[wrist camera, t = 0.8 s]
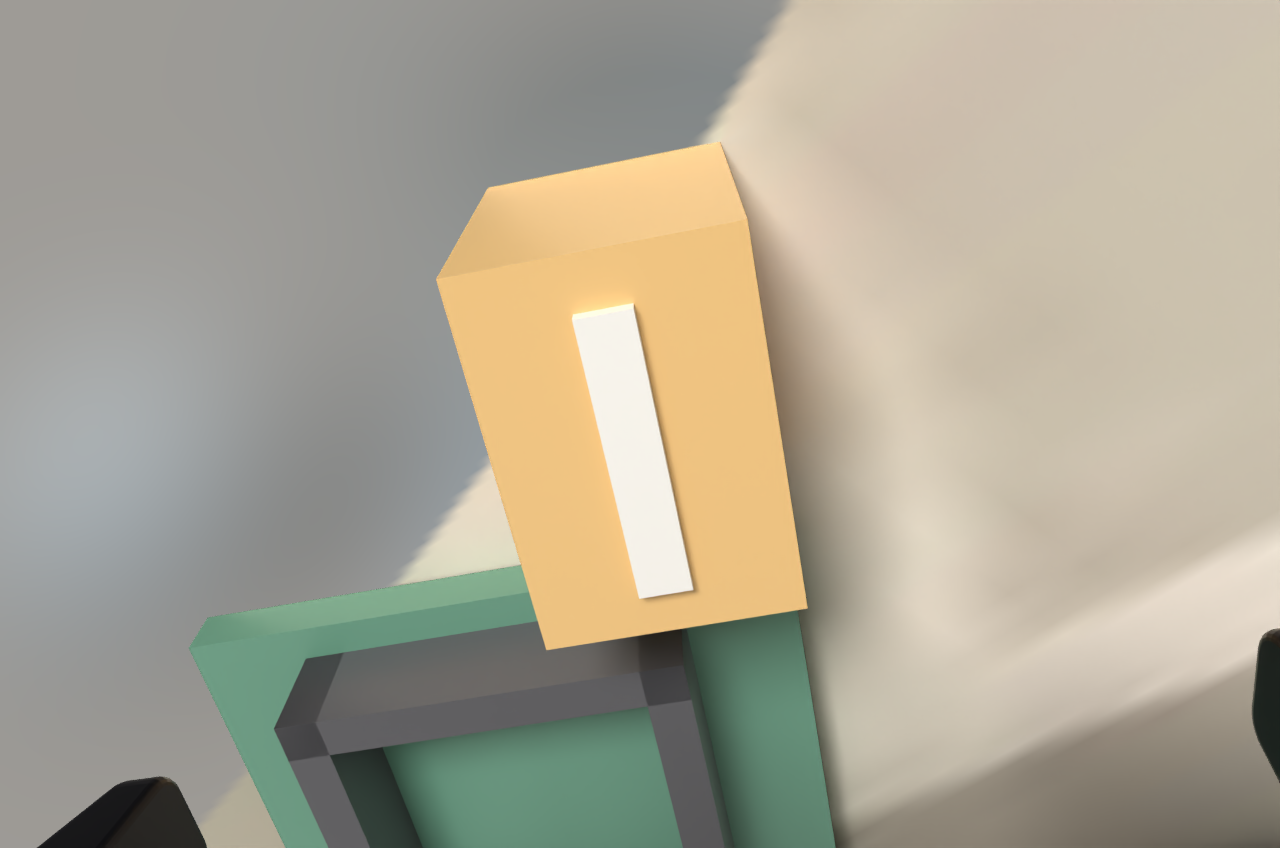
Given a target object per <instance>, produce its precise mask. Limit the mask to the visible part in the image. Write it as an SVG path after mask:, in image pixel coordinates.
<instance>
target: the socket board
mask: <svg viewBox="0 0 1280 848" xmlns="http://www.w3.org/2000/svg"><path fill="white" fill-rule="evenodd" d="M189 649H190V652H191V654H192V656H193V658H194V660H195V662H196V664H197V666H198V668H199V670H200V672H201V674H202V676H203V678H204V681H205V683H206V685H207V687H208V689H209V691H210V693H211V695H212V697H213V699H214V701H215V703H216V705H217V707H218V709H219V711H220V713H221V716H222V718H223V720H224V722H225V724H226V726H227V728H228V730H229V732H230V734H231V736H232V738H233V740H234V742H235V744H236V747H237V749H238V751H239V753H240V755H241V757H242V759H243V761H244V763H245V765H246V767H247V769H248V771H249V773H250V775H251V777H252V779H253V782H254V784H255V786H256V788H257V790H258V792H259V794H260V796H261V798H262V800H263V802H264V804H265V806H266V808H267V810H268V812H269V815H270V817H271V819H272V821H273V823H274V825H275V827H276V829H277V831H278V833H279V835H280V837H281V839H282V841H283V843H284V845H285V848H836V847H835V841H834V834H833V828H832V822H831V816H830V809H829V803H828V797H827V791H826V784H825V778H824V772H823V766H822V759H821V753H820V747H819V741H818V735H817V728H816V722H815V716H814V710H813V703H812V697H811V691H810V685H809V678H808V672H807V666H806V660H805V653H804V647H803V641H802V635H801V629H800V622H799V616H798V610H795V611H789V612H783V613H777V614H770V615H764V616H758V617H752V618H745V619H739V620H733V621H727V622H720V623H714V624H708V625H702V626H695V627H689V628H683V629H677V630H670V631H664V632H658V633H652V634H645V635H639V636H633V637H626V638H620V639H614V640H608V641H601V642H595V643H589V644H583V645H576V646H570V647H564V648H558V649H551V650H546V647H545V644H544V640H543V637H542V634H541V630H540V627H539V624H538V620H537V617H536V614H535V610H534V607H533V603H532V600H531V597H530V593H529V590H528V587H527V583H526V580H525V577H524V573H523V570H522V566H521V565H520V566H514V567H508V568H502V569H496V570H490V571H484V572H478V573H472V574H466V575H460V576H454V577H448V578H442V579H436V580H430V581H424V582H418V583H412V584H406V585H400V586H394V587H388V588H382V589H376V590H370V591H364V592H358V593H352V594H347V595H340V596H334V597H328V598H323V599H316V600H310V601H304V602H298V603H292V604H286V605H280V606H274V607H268V608H263V609H256V610H251V611H244V612H239V613H233V614H226V615H221V616H215V617H209V618H207V620H206V621H205V623H204V625H203V626H202V628H201V629H200V631H199V633H198V635H197V636H196V637H195V639H194V641H193V642H192V644H191V645H190V647H189Z"/></svg>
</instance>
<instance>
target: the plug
mask: <svg viewBox="0 0 1280 848" xmlns="http://www.w3.org/2000/svg"><path fill="white" fill-rule="evenodd" d="M436 280H437V284H438V287H439V291H440V294H441V297H442V301H443V304H444V307H445V311H446V314H447V318H448V321H449V324H450V328H451V331H452V334H453V337H454V341H455V344H456V347H457V351H458V354H459V358H460V361H461V364H462V368H463V371H464V374H465V378H466V381H467V384H468V388H469V392H470V395H471V398H472V402H473V405H474V408H475V412H476V414H477V418H478V422H479V425H480V428H481V432H482V435H483V439H484V442H485V445H486V449H487V452H488V455H489V459H490V462H491V466H492V469H493V472H494V476H495V479H496V482H497V486H498V489H499V492H500V496H501V499H502V503H503V506H504V509H505V513H506V516H507V519H508V523H509V526H510V529H511V533H512V536H513V540H514V543H515V546H516V550H517V553H518V556H519V560H520V563H521V566H522V570H523V573H524V577H525V580H526V583H527V587H528V590H529V593H530V597H531V600H532V603H533V607H534V610H535V614H536V617H537V620H538V624H539V627H540V630H541V634H542V637H543V640H544V644H545V647H546V650H551V649H558V648H564V647H570V646H576V645H583V644H589V643H595V642H601V641H608V640H614V639H620V638H626V637H633V636H639V635H645V634H652V633H658V632H664V631H670V630H677V629H683V628H689V627H695V626H702V625H708V624H714V623H720V622H727V621H733V620H739V619H745V618H752V617H758V616H764V615H770V614H777V613H783V612H789V611H795V610H802V609H808V607H807V601H806V594H805V588H804V581H803V575H802V568H801V562H800V555H799V549H798V542H797V536H796V530H795V523H794V517H793V510H792V504H791V497H790V491H789V484H788V478H787V471H786V465H785V458H784V452H783V446H782V439H781V433H780V426H779V420H778V413H777V407H776V400H775V394H774V387H773V381H772V374H771V368H770V362H769V355H768V349H767V342H766V336H765V329H764V323H763V316H762V310H761V303H760V297H759V290H758V284H757V278H756V271H755V265H754V258H753V252H752V245H751V239H750V232H749V226H748V219H747V216H746V214H745V211H744V208H743V205H742V202H741V200H740V197H739V194H738V191H737V188H736V186H735V183H734V180H733V177H732V174H731V171H730V169H729V166H728V163H727V160H726V157H725V155H724V152H723V149H722V146H721V143H720V142H717V143H712V144H707V145H698V146H693V147H688V148H683V149H678V150H673V151H668V152H663V153H658V154H653V155H648V156H643V157H638V158H633V159H628V160H623V161H618V162H613V163H608V164H603V165H599V166H593V167H588V168H583V169H578V170H573V171H568V172H563V173H558V174H553V175H548V176H543V177H538V178H533V179H528V180H523V181H518V182H513V183H508V184H503V185H499V186H493V187H488V189H487V191H486V193H485V194H484V196H483V198H482V200H481V201H480V203H479V205H478V207H477V208H476V210H475V212H474V214H473V215H472V217H471V219H470V221H469V222H468V224H467V226H466V228H465V230H464V231H463V233H462V235H461V237H460V238H459V240H458V242H457V244H456V246H455V247H454V249H453V251H452V253H451V254H450V256H449V258H448V259H447V261H446V263H445V265H444V267H443V268H442V270H441V272H440V274H439V275H438V277H437V279H436Z"/></svg>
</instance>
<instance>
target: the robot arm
mask: <svg viewBox="0 0 1280 848" xmlns="http://www.w3.org/2000/svg"><path fill="white" fill-rule="evenodd" d="M1252 720H1253V725H1254V730H1255V733H1256V736H1257V738H1258V741H1259V743H1260V745H1261V747H1262V749H1263V751H1264V753H1265V755H1266V757H1267V759H1268V761H1269V763H1270V765H1271V767H1272V769H1273V770H1274V772H1275V774H1276V776H1277V778H1278V780H1279V782H1280V628H1279V629H1273V630H1270V631H1268V632H1266V633H1265V634H1264V635H1263V636H1262V638H1261V640H1260V642H1259V647H1258V654H1257V663H1256V673H1255V682H1254V692H1253V702H1252ZM37 848H207V846H206V843H205V840H204V838H203V836H202V834H201V832H200V830H199V828H198V826H197V824H196V822H195V820H194V818H193V816H192V814H191V811H190V810H189V808H188V805H187V804H186V801H185V799H184V798H183V795H182V793H181V791H180V789H179V787H178V786H177V784H176V783H175V782H173V781H172V780H171V779H169V778H167V777H152V778H145V779H137V780H130V781H125V782H122V783H120V784H117V785H116V786H114V787H113V788H112V789H110V790H109V791H108V792H107V793H105V794H104V795H103V796H101V797H100V798H99V799H98V800H96V801H95V802H94V803H93V804H91V805H90V806H89V807H88V808H86V809H85V810H84V811H83V812H81V813H80V814H79V815H78V816H76V817H75V818H74V819H73V820H71V821H70V822H69V823H68V824H66V825H65V826H64V827H63V828H61V829H60V830H59V831H57V832H56V833H55V834H54V835H52V836H51V837H50V838H49V839H47V840H46V841H45V842H44V843H43V844H41V845H40V846H39V847H37Z"/></svg>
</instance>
